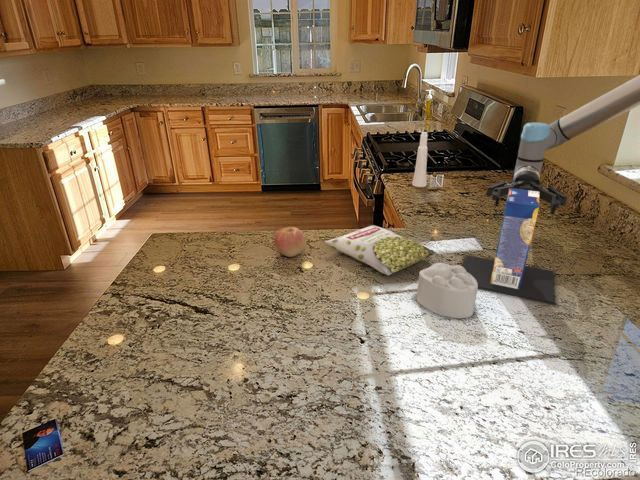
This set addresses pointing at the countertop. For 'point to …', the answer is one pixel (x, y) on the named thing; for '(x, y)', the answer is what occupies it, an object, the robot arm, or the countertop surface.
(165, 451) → the countertop surface
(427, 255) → the frozen beans
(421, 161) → the cosmetic bottle
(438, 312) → the lumpy-topped squat cylinder
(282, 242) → the apple
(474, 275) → the mat
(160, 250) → the countertop surface
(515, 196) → the beverage box
